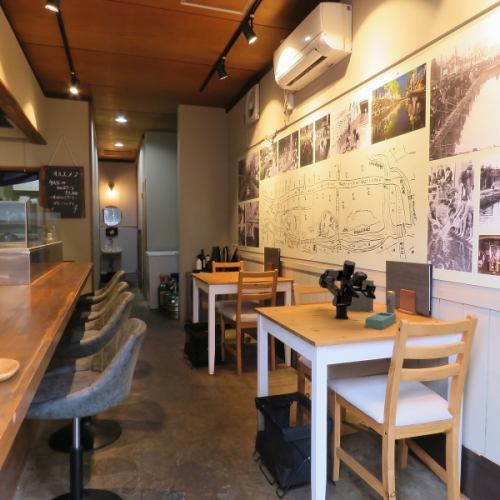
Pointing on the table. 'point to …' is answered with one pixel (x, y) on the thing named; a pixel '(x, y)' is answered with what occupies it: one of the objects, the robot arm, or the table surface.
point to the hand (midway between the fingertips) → (367, 297)
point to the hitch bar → (380, 320)
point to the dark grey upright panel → (362, 300)
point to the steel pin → (390, 302)
